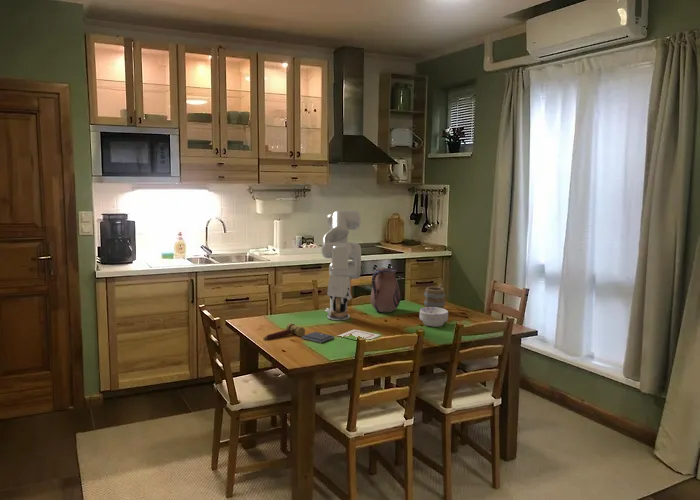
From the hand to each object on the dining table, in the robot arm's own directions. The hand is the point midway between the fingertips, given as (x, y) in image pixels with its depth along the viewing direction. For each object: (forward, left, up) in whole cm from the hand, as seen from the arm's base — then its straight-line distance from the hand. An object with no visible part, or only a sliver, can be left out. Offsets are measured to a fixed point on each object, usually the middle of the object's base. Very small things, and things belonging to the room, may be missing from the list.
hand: (339, 310), depth 263 cm
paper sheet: (-1, +18, -17) cm, 24 cm away
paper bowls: (+18, +61, -17) cm, 65 cm away
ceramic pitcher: (-18, +68, -17) cm, 72 cm away
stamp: (0, 0, -3) cm, 3 cm away
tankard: (+5, +90, -17) cm, 91 cm away
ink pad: (-14, +2, -17) cm, 22 cm away
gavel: (-30, -7, -17) cm, 35 cm away
